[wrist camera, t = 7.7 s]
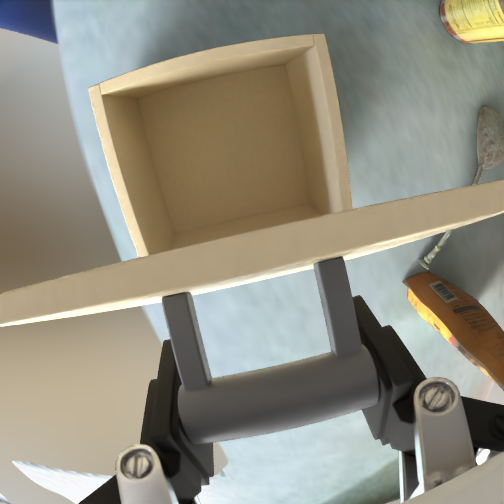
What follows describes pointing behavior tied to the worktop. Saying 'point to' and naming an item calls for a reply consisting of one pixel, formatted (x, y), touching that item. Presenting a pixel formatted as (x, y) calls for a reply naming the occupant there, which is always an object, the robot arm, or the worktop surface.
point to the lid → (251, 270)
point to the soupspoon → (480, 158)
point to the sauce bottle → (474, 20)
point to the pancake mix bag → (460, 322)
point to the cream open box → (224, 141)
